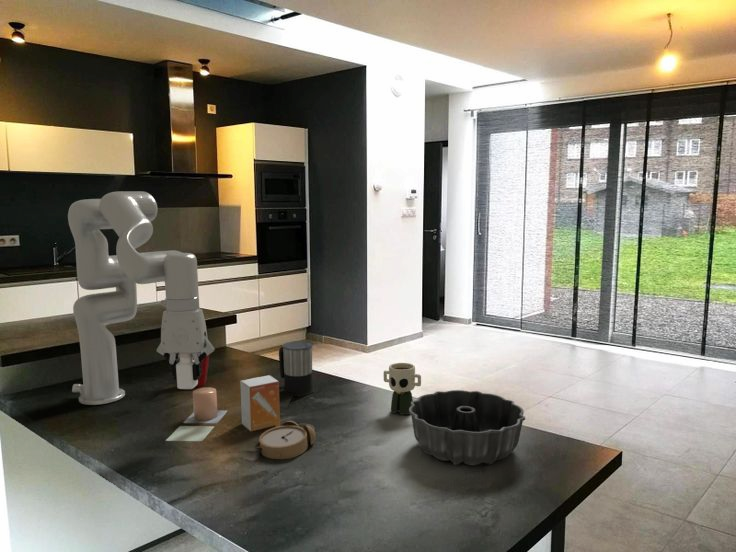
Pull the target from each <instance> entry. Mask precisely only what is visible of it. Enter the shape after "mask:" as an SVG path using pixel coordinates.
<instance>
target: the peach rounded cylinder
mask: <svg viewBox="0 0 736 552" xmlns="http://www.w3.org/2000/svg"><path fill="white" fill-rule="evenodd" d="M217 397H218V395H217V389H216V388H215V387H210V386H209V387H199V388H197V389H195V390H193V391H192V402H193V403H192V405H193V406H192V407H193V412H194V419H195V420H198V421H207V420H212V419H214V418H216V417H217V416H218V413H217V410H218V398H217Z"/></svg>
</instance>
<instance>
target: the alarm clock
mask: <svg viewBox="0 0 736 552" xmlns="http://www.w3.org/2000/svg"><path fill="white" fill-rule="evenodd" d="M317 435H318V433H317V432H316V431H315V427H314V426H313V425H312V424H309V423H299V424H298V423H297V422H295V421H294V420H287V421H285V422H283V423H282V424H281V425H280V426H278V427H275V426H274V427H272V428H269V429H267V430H265V431H264V432H262V433H261V435H260V436H259V438H258V441H259V446H256V447H255V448H256V449H257V448H258V449H259V448H261V450H260V453H261V455H262V456H263V457H265V458H268V459H273V460H286V459H287V460H288V459H293V458H296V457H298V456H301V455H302V454H303V453H305V452H306V451H307V449H308V447H309V446H312V445H313V444H314V443H315V441H316V437H317ZM309 443H310V444H309Z"/></svg>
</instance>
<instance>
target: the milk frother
mask: <svg viewBox="0 0 736 552" xmlns="http://www.w3.org/2000/svg"><path fill="white" fill-rule="evenodd" d="M278 361H279V362H278V363H279V376H280V378H282V379H284V383H283V384H284V385H283V386H284V387H282V386H280V385H279V389H281V390H283V393H293V394H292V396H293V397H303V396H308V395H310V394H311V395H312V393H314V391H315V390H314V384H313V382H314V381H313V343H312V342H308V341H304V340H303V341H301V340H299V341H298V340H296V341H289V342H288V341H287V342H285V343H283V344H282V346H280V348H279V350H278Z"/></svg>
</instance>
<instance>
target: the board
mask: <svg viewBox="0 0 736 552" xmlns="http://www.w3.org/2000/svg"><path fill="white" fill-rule="evenodd" d="M217 413H218V416H217V417H216V418H214V419H212V420H207V421H198V420H195V419H194V411H193V412H192V413H191V414H190V415H189V416H188V417H187V418H186V419H185V420H184V421H183V422H182V423H183V424H218V423H219V422H220V421H221V419H222V418H223V417H224V416H225V415H226V413H228V410H218V409H217ZM214 428H215V426H213V425H212V426H210V425H208V426H207V425H206V426H205V425H179V426H178V427H177V428H176V429H175V430H174V431H173V432H172V434H171V435H169V437H168V438H166V439H165V442H203V441H204V440H205V439H206V437H207V436H208V435H209V434H210V433H211V432H212V430H213V429H214Z"/></svg>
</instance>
